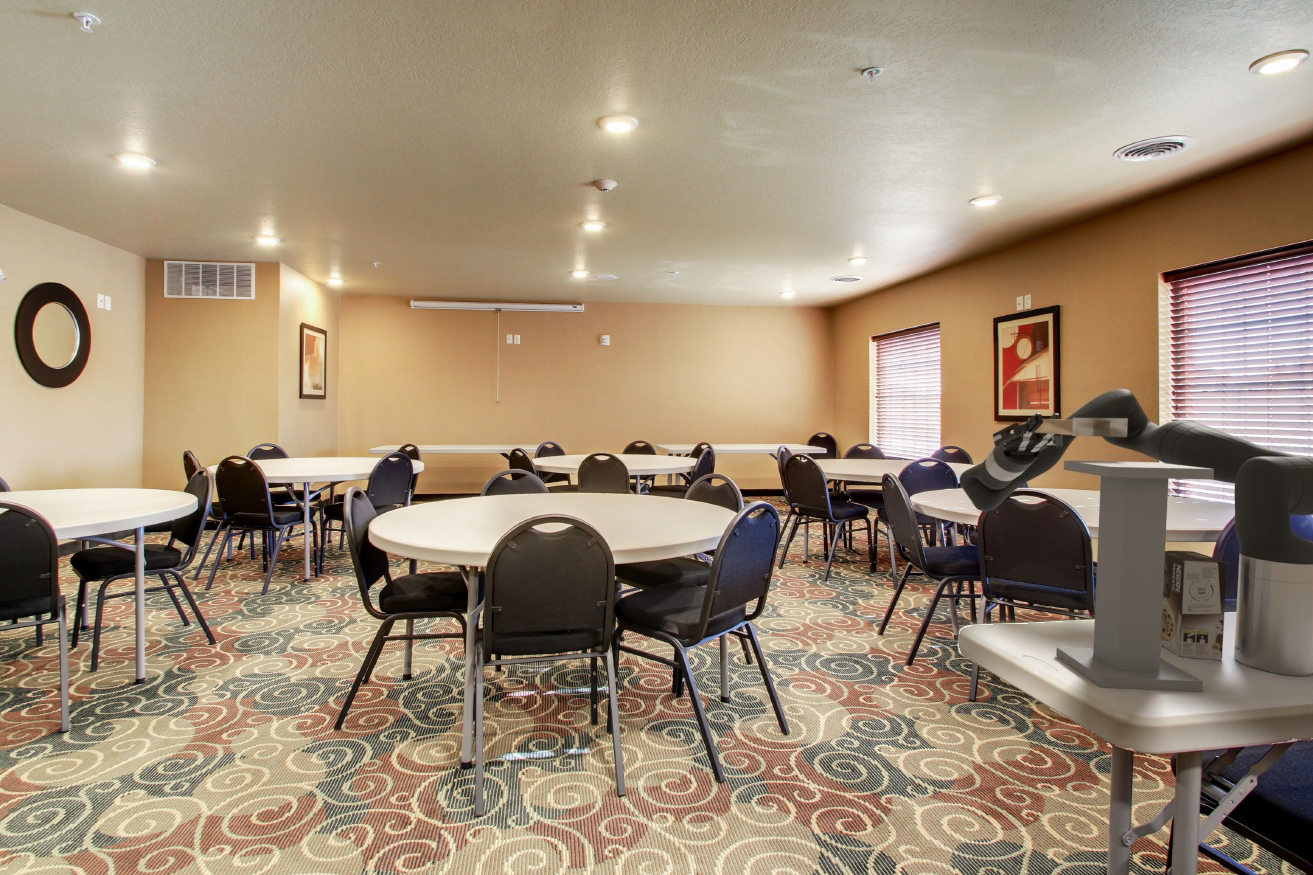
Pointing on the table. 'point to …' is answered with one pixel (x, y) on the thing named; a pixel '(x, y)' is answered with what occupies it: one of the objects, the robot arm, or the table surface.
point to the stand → (1131, 577)
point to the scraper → (1086, 427)
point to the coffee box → (1193, 604)
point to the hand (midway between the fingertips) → (1048, 417)
